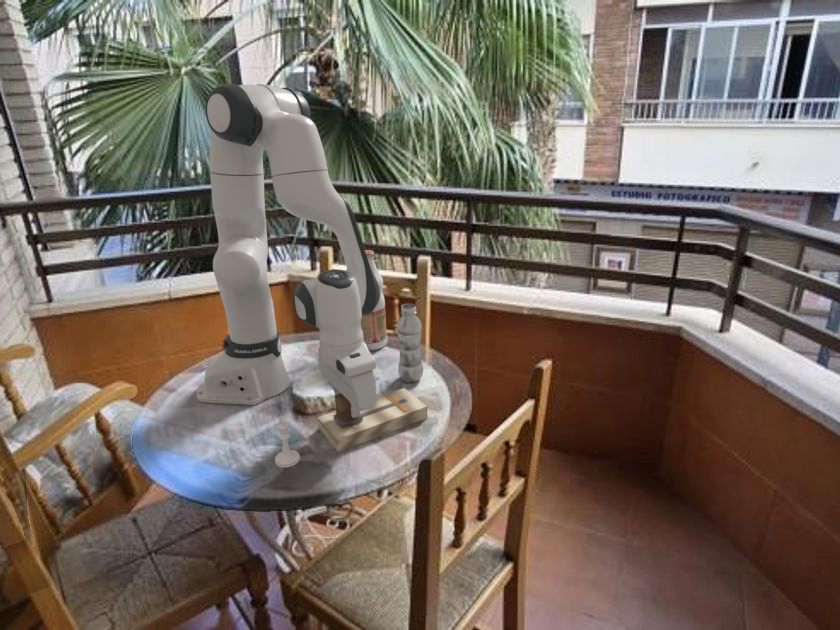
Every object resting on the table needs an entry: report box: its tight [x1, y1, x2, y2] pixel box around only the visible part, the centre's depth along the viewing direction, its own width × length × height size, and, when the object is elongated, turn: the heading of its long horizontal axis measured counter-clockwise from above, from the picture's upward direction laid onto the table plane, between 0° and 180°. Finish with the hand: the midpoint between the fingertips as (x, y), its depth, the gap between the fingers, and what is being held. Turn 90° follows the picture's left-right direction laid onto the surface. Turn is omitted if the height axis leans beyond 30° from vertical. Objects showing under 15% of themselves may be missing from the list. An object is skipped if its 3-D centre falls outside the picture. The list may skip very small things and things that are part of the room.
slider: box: [333, 393, 363, 428], centre depth 114 cm, size 5×4×6 cm
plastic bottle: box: [396, 303, 424, 383], centre depth 134 cm, size 6×7×20 cm
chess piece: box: [274, 416, 301, 468], centre depth 106 cm, size 5×5×10 cm
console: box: [317, 387, 428, 453], centre depth 119 cm, size 22×10×3 cm, turn 123°
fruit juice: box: [361, 249, 388, 352], centre depth 152 cm, size 9×9×28 cm
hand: (347, 408), depth 114 cm, fingers open, 5 cm apart
